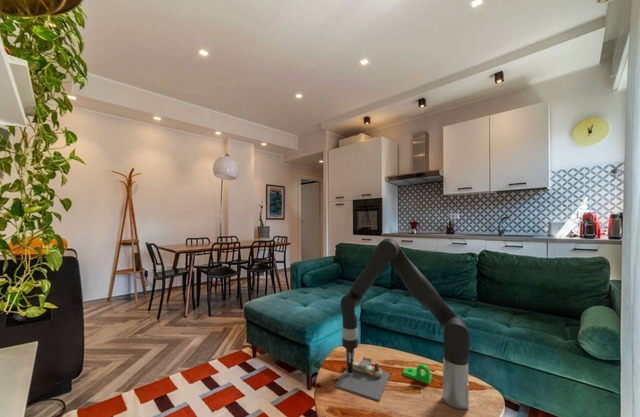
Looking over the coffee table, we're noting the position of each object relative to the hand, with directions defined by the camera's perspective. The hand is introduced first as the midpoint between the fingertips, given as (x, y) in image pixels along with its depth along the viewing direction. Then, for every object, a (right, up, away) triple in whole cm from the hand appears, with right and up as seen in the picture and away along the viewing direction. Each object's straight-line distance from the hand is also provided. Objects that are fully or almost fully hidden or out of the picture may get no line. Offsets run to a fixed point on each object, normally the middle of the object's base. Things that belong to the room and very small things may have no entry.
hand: (350, 372), depth 127 cm
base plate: (+6, -2, -4) cm, 7 cm away
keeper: (+8, -1, +2) cm, 8 cm away
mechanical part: (+32, -2, -1) cm, 32 cm away
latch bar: (+7, 0, +2) cm, 7 cm away
